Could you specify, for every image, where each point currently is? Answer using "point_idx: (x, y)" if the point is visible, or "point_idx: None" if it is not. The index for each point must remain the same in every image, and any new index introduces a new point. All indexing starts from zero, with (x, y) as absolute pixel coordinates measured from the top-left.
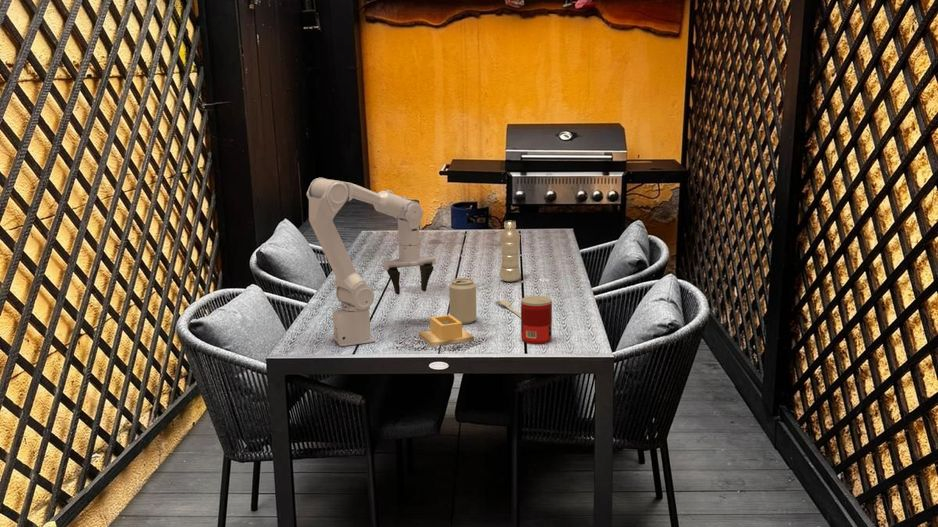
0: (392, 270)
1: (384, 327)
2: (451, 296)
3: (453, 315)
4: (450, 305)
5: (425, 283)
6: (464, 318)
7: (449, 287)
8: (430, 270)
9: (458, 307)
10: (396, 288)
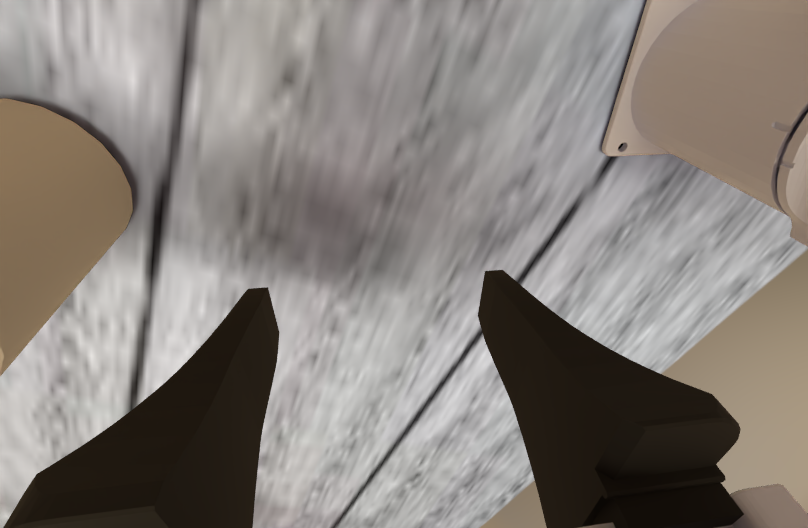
0: (681, 475)
1: (485, 217)
2: (23, 246)
3: (91, 165)
4: (82, 224)
5: (235, 331)
6: (6, 107)
7: (2, 329)
8: (93, 464)
9: (3, 155)
10: (535, 299)
